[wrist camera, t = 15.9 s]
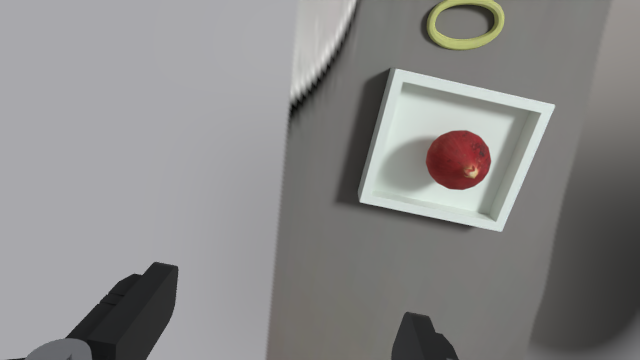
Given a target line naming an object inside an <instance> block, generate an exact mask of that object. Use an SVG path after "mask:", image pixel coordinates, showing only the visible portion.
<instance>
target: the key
mask: <svg viewBox="0 0 640 360" xmlns="http://www.w3.org/2000/svg"><path fill="white" fill-rule="evenodd" d="M466 4H469V5H478V6H482V7H485V8H487V9H489V10H490V11H491V12H492V13H493V15H494V20H495V21H494V26H493V28H492V29H491V30H490V31H489V32H488V33H486V34H484V35H481V36H479V37H476V38H471V39H453V38H449V37H446V36H444V35H442V34H440V33H439V32H437V30H436V28H435V20H436V18H437V16H438V14H439V13H440V12H441V11H443V10H445V9H447V8H449V7H452V6H457V5H466ZM503 24H504V13H503V10H502V8H501V7H500V5H498V4H497V3H495V2H494V1H493V0H444V1H443V2H441V3H439V4H438V5H436V6H435V7H434V9H433V10H432V11H431V12H430V14H429V17H428V20H427V31H428V34H429V36H430V38H431V39H432V40H433V41H434V42H435V43H437V44H438V45H440V46H442V47H444V48H447V49H452V50H469V49H475V48H478V47H480V46H483V45H485V44H486V43H488V42H490V41H491V40H493V39H494V38H495V37H496V36H497V35H498V34H499V33H500V31H501V30H502V28H503Z"/></svg>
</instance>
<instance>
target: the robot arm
mask: <svg viewBox="0 0 640 360" xmlns="http://www.w3.org/2000/svg"><path fill="white" fill-rule="evenodd" d="M177 278H178V267H177V266H174V265H169V264H164V263H159V262H154V263H153V264H152V265H151V266H150V267H149V268H148V269H147V271H146V272H145V273H144V274H143V275H138V274H132V275H130V276H129V277H127V278H125V279H123V280H121V281H119V282H118V283H117V284H116V285H115V286H114V287H113V288H112V290H111V291H110V292H109V293H108V295H106V296H105V297H104V298H103V299H102V300H101V301H100V303H99V304H97V305H96V306H95V307H94V308H93V309H92V310H91V312H90V313H89V314H88V315H87V316H86V317H85V318H84V319H83V320H82V321H81V322H80V323H79V324H78V325H77V326H76V327H75V328H74V329H73V330H72V332H71V333H70V334H69V335H68V336H67V337H66V338H65V339H59V340H55V341H51V342H49V343H46V344H44V345H42V346H40V347H38V348H37V349H35V350H34V351H33V352H31V353H30V354H29V355H28V356H27V357H26V358H20V359H9V360H146V359H147V357H148V355H149V354H150V352H151V350H152V349H153V347H154V345H155V344H156V342H157V340H158V339H159V337H160V335H161V334H162V332H163V331H164V329H165V327H166V326H167V324H168V322H169V321H170V318H171V316H172V313H173V310H174V306H175V300H176V290H177ZM391 360H459V359H458V357H457V355H456V353H455V350H454V348H453V346H452V345H451V344H450V343H449V342H448V340H447V339H446V338H445V337H444V336H443V335H442V334H439V333H436V332H435V330H434V327H433V325H432V322H431V320H430V318H429V316H426V315H421V314H416V313H411V312H406V313H405V314H404V316H403V319H402V322H401V325H400V328H399V330H398V333H397V336H396V339H395V342H394V344H393V348H392V356H391Z"/></svg>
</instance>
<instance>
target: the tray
mask: <svg viewBox="0 0 640 360" xmlns="http://www.w3.org/2000/svg"><path fill="white" fill-rule="evenodd" d="M554 107H555V105H553V104H548V103H544V102H540V101H535V100H531V99H527V98H522V97H518V96H513V95H509V94H505V93H500V92H496V91H492V90H487V89H483V88H479V87H474V86H470V85H465V84H461V83H457V82H452V81H448V80H444V79H439V78H435V77H431V76H426V75H422V74H417V73H413V72H409V71H404V70H400V69H395V68H390V72H389V76H388V80H387V83H386V87H385V91H384V95H383V98H382V102H381V106H380V110H379V113H378V117H377V121H376V125H375V128H374V132H373V136H372V140H371V143H370V147H369V151H368V155H367V158H366V162H365V166H364V170H363V173H362V177H361V181H360V184H359V188H358V192H357V193H358V197H359V202H361V203H366V204H371V205H376V206H380V207H385V208H390V209H395V210H400V211H404V212H409V213H414V214H419V215H423V216H428V217H433V218H438V219H442V220H447V221H452V222H457V223H462V224H466V225H471V226H476V227H481V228H485V229H490V230H495V231H500V232H502V230H503V227H504V225H505V223H506V220H507V218H508V216H509V213H510V211H511V208H512V206H513V204H514V201H515V199H516V197H517V194H518V192H519V190H520V187H521V185H522V183H523V180H524V178H525V176H526V173H527V171H528V168H529V166H530V164H531V161H532V159H533V157H534V154H535V152H536V150H537V147H538V145H539V143H540V140H541V138H542V135H543V133H544V131H545V128H546V126H547V124H548V121H549V119H550V117H551V114H552V112H553V110H554ZM457 130H467V131H470V132H472V133H474V134H476V135H479V136H480V137H481V138H482V140H483V141H484V142H485V143H486V145H487V146H488V147H489V152H490V156H491V165H490V169H489V172H488V174H487V175H486V176H485V178H484V179H483V181H481V182H480V183H478V184H477V185H476V186H474V187H471V188H468V189H465V190H454V189H448V188H446V187H444V186H442V185H440V184H438V183H437V182H436V181H435V180H434V179H433V178H432V177H431V175H430V174H429V172H428V168H427V165H426V156H427V151H428V149H429V148H430V146H431V144H432V142H433V141H434V140H436V139H437V138H438V137H439V136H440V135H442V134H445V133H447V132H450V131H457Z"/></svg>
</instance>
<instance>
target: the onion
mask: <svg viewBox="0 0 640 360" xmlns="http://www.w3.org/2000/svg"><path fill="white" fill-rule="evenodd" d="M426 165H427V168H428V172H429V174H430V175H431V177H432V178H433V179H434V180H435V181H436V182H437V183H438V184H440V185H442V186H444V187H446V188H448V189H454V190H465V189H468V188H471V187H474V186H476V185H477V184H478V183H480V182H481V181H483V179H484V178H485V176H486V175H487V174H488V172H489V169H490V165H491V156H490V152H489V147H488V146H487V145H486V143H485V142H484V141H483V140H482V138H481V137H480V136H479V135H476V134H474V133H472V132H470V131H467V130H457V131H450V132H447V133H445V134H442V135H440V136H439V137H438V138H437V139H436V140H434V141H433V142H432V144H431V146H430V148H429V149H428V151H427V156H426Z"/></svg>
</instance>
